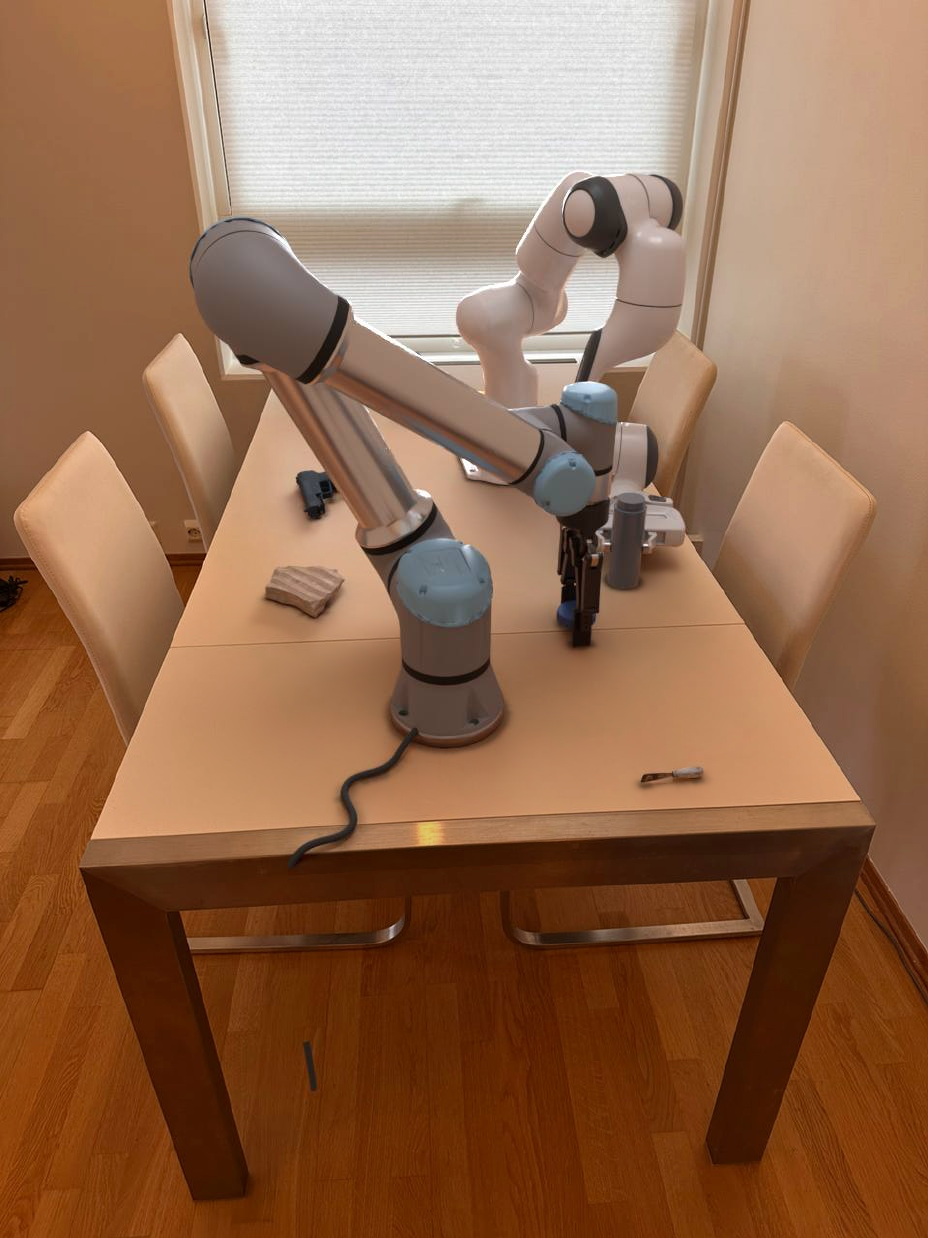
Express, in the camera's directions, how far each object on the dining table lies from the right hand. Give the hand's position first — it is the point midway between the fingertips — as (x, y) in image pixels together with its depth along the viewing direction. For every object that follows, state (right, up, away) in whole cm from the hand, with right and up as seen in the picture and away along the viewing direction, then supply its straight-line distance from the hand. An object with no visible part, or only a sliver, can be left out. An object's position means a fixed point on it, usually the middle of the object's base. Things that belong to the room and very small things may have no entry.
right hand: (626, 549), depth 147 cm
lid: (-10, -10, -11) cm, 18 cm away
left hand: (-10, -14, -9) cm, 19 cm away
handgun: (-54, +13, +33) cm, 65 cm away
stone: (-53, -8, 0) cm, 54 cm away
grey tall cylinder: (0, -5, +4) cm, 7 cm away
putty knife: (-1, -31, -38) cm, 49 cm away
